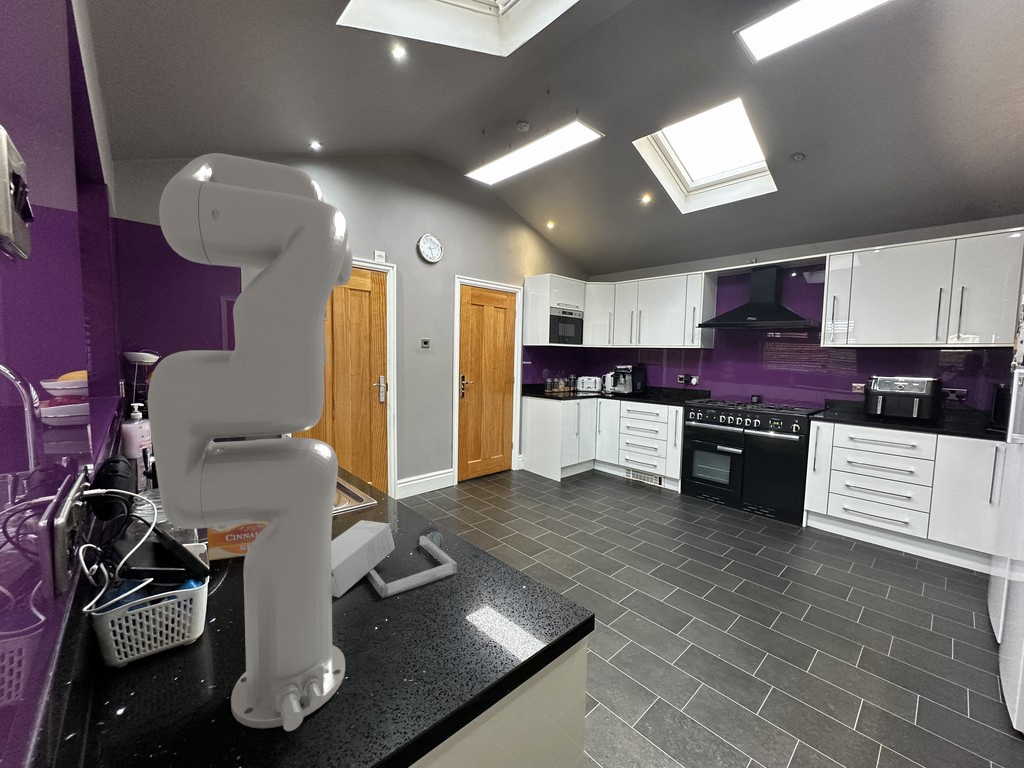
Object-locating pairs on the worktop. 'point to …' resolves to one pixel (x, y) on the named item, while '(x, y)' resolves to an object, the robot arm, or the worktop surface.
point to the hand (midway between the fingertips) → (308, 393)
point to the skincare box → (358, 553)
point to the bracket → (418, 579)
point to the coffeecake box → (232, 539)
